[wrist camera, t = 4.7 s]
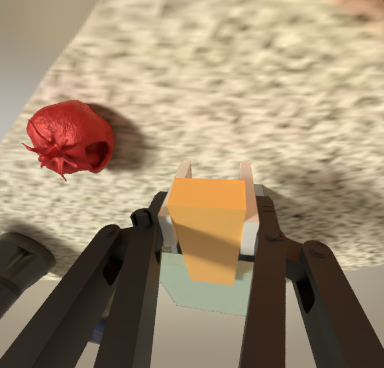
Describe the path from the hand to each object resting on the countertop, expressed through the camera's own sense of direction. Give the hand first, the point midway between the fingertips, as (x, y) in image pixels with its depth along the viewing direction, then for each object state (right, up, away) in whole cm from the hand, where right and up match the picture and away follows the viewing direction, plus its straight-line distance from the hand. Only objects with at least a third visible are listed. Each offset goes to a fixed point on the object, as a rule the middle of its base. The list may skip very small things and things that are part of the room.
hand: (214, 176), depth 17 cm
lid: (0, -10, +5) cm, 12 cm away
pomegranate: (-17, +7, +12) cm, 22 cm away
